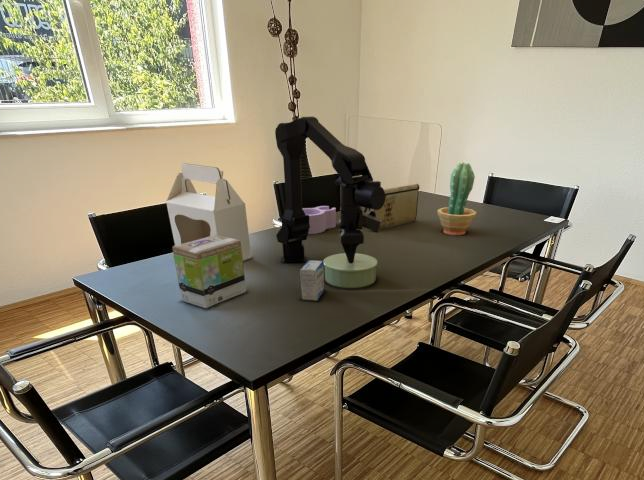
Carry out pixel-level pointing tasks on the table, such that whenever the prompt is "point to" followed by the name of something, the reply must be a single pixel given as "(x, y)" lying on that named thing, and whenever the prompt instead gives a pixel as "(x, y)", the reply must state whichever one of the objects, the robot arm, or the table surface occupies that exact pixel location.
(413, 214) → the clutch purse
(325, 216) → the purple piece
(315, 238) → the table surface
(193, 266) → the tea box
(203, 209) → the gable box
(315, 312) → the table surface
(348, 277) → the pot
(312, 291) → the medicine box
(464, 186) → the potted cactus
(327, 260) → the pot lid
